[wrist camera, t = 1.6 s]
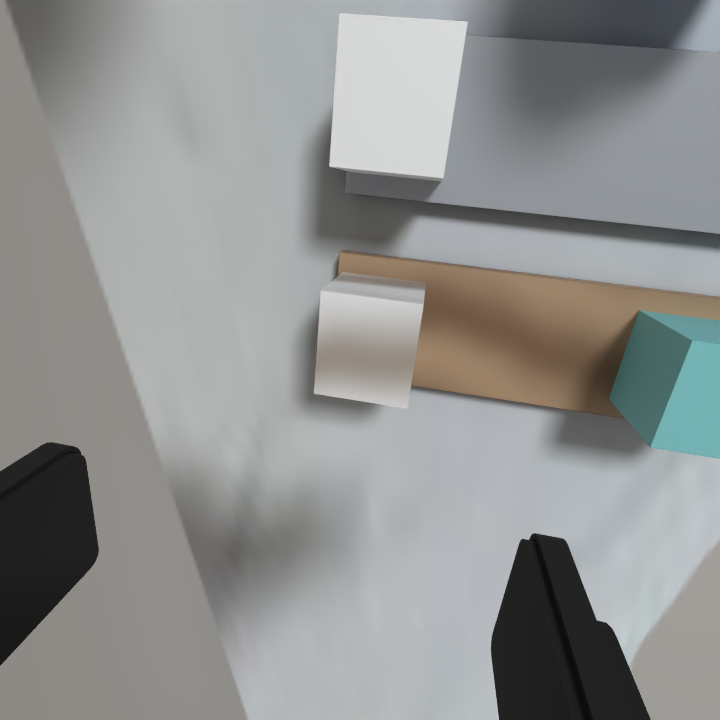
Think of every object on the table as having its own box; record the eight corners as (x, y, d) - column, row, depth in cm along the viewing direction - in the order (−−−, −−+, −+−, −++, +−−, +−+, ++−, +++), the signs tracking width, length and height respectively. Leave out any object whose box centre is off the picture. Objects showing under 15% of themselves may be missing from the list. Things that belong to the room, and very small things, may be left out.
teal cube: (638, 310, 22) (692, 340, 18) (745, 323, 22) (830, 359, 17) (608, 398, 24) (650, 447, 20) (706, 413, 24) (773, 467, 19)
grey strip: (361, 35, 21) (334, -23, 15) (987, 78, 18) (1232, 27, 13) (347, 192, 23) (321, 192, 18) (894, 252, 21) (1063, 274, 15)
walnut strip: (343, 250, 25) (316, 266, 19) (861, 314, 22) (1009, 355, 16) (333, 366, 27) (307, 411, 22) (796, 437, 24) (903, 509, 19)
